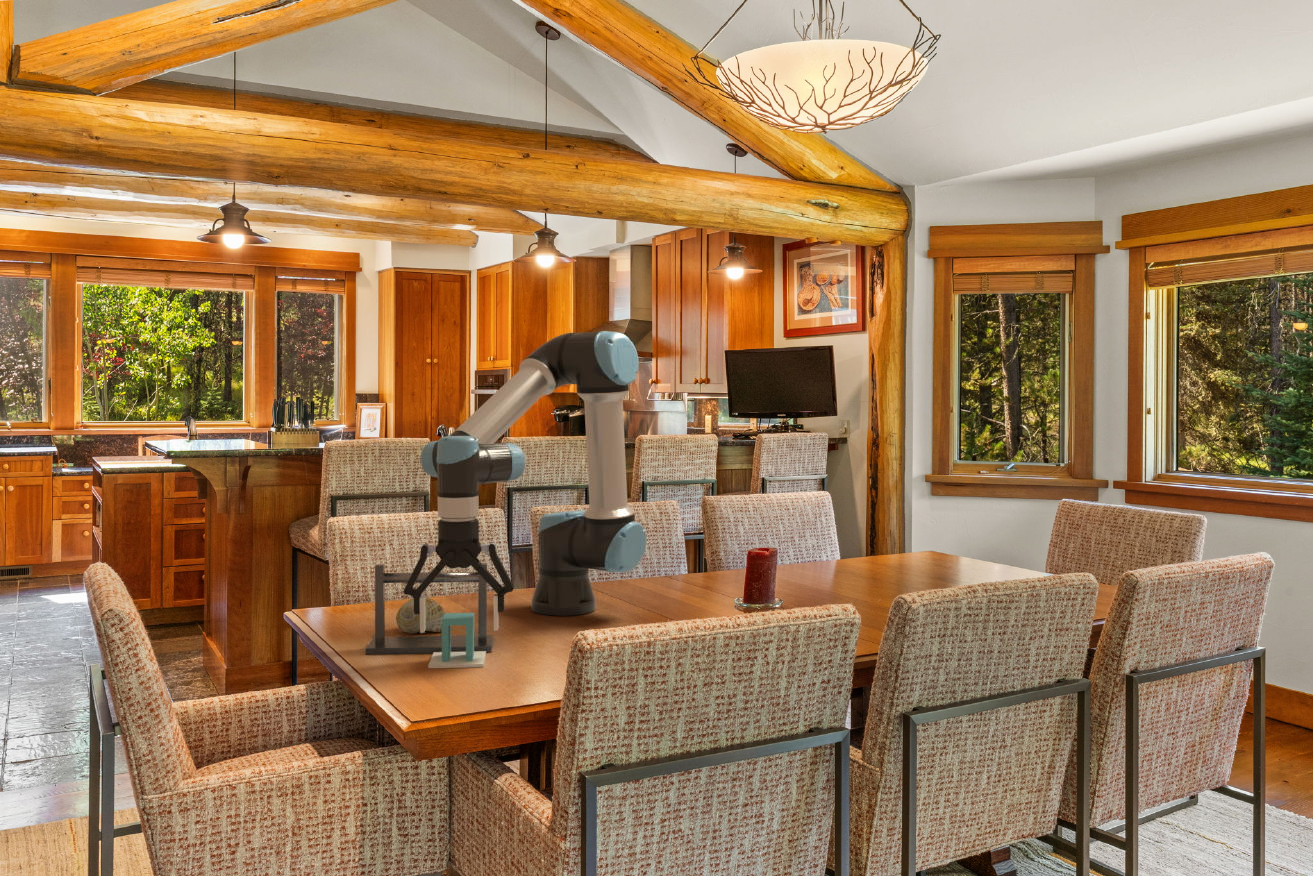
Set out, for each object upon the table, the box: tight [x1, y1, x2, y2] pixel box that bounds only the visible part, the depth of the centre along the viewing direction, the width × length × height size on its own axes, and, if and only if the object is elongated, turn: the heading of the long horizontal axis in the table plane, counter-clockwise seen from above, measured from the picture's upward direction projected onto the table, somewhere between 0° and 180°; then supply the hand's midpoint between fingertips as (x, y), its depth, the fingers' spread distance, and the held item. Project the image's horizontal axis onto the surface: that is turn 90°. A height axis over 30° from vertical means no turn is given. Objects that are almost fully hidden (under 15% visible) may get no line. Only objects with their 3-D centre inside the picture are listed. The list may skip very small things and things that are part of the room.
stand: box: [364, 562, 495, 656], centre depth 193 cm, size 24×9×17 cm, turn 97°
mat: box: [427, 651, 487, 669], centre depth 184 cm, size 10×9×1 cm
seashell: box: [395, 597, 446, 635], centre depth 207 cm, size 10×10×10 cm
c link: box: [441, 612, 475, 662], centre depth 184 cm, size 5×6×8 cm
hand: (459, 630), depth 184 cm, fingers open, 13 cm apart
